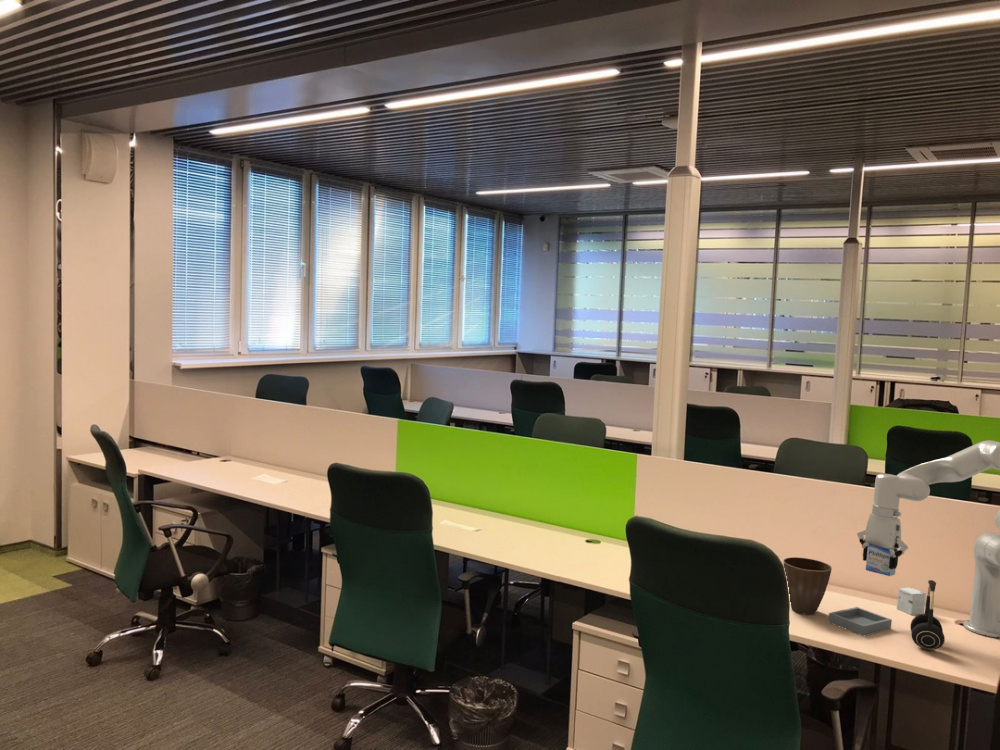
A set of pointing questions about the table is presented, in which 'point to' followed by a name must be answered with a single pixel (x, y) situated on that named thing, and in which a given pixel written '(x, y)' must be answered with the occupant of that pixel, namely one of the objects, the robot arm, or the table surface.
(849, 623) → the desk tray
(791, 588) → the plant pot
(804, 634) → the table surface
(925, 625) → the headphones
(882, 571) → the medicine box
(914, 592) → the skincare box
